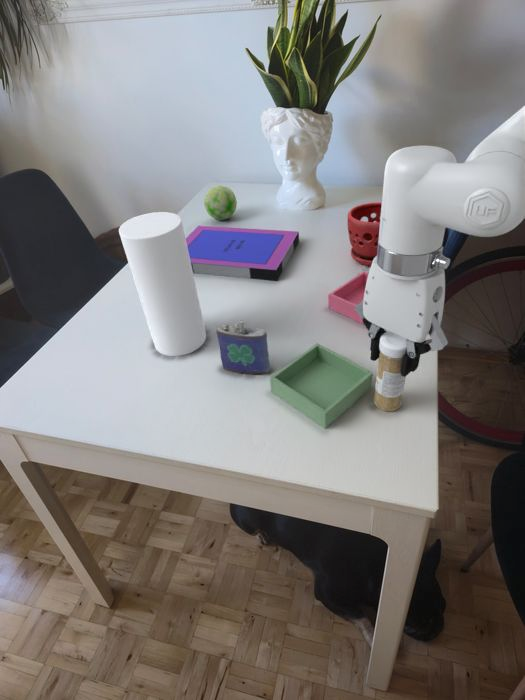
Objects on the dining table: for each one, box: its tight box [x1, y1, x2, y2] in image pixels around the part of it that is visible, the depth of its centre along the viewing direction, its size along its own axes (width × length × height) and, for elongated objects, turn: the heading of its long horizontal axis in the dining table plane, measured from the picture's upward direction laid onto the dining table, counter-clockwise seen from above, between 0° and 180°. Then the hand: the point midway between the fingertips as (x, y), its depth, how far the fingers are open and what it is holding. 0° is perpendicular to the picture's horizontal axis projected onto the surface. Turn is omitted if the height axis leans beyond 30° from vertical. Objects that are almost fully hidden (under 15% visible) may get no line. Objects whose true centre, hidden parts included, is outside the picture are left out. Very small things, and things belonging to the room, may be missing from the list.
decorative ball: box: [203, 185, 238, 221], centre depth 133 cm, size 10×10×10 cm
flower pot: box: [347, 201, 382, 267], centre depth 106 cm, size 13×13×12 cm
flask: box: [216, 319, 271, 376], centre depth 78 cm, size 9×3×11 cm, turn 74°
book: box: [185, 225, 300, 282], centre depth 115 cm, size 21×3×30 cm
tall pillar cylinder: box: [118, 211, 207, 357], centre depth 82 cm, size 11×11×25 cm
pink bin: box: [327, 271, 369, 325], centre depth 92 cm, size 12×12×4 cm
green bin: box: [269, 342, 374, 429], centre depth 74 cm, size 12×12×4 cm
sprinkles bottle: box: [373, 330, 407, 412], centre depth 67 cm, size 5×5×13 cm
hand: (392, 362), depth 66 cm, fingers closed on sprinkles bottle, 4 cm apart
